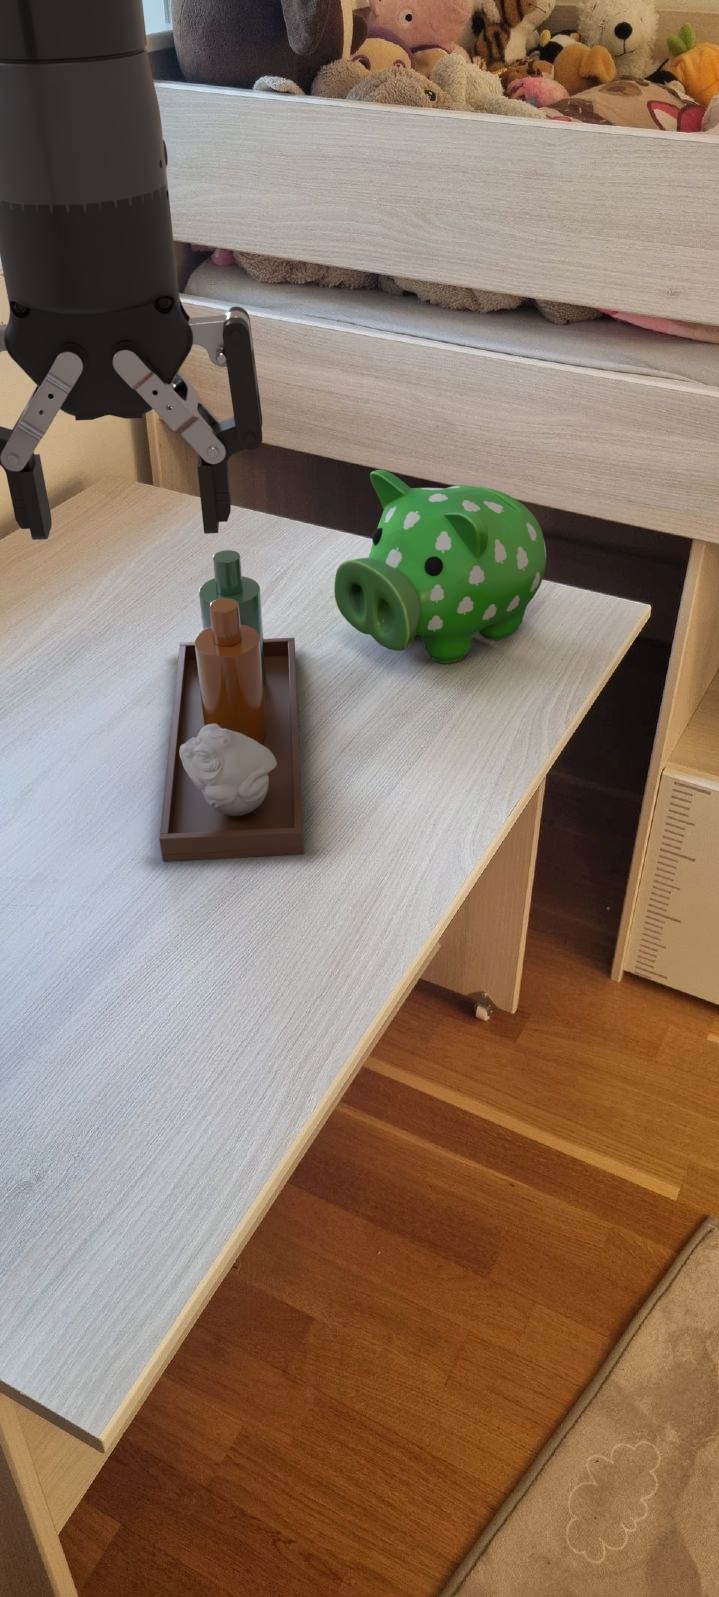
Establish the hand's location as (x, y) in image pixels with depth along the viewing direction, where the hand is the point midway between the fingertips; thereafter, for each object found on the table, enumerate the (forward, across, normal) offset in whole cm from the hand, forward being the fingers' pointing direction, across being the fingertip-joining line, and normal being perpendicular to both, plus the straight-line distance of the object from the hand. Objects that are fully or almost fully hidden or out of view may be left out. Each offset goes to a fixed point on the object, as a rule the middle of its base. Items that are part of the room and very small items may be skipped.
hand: (128, 530), depth 61 cm
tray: (+30, +3, +23) cm, 38 cm away
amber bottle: (+30, +3, +24) cm, 38 cm away
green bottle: (+30, +3, +32) cm, 43 cm away
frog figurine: (+30, +3, +14) cm, 33 cm away
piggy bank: (+30, +22, +39) cm, 54 cm away
